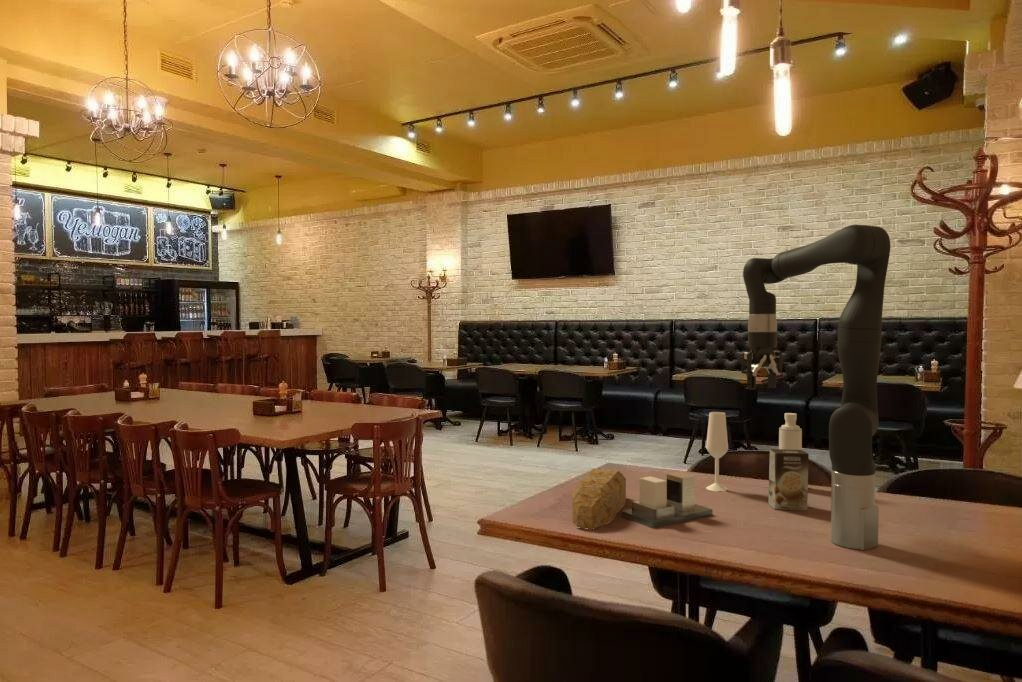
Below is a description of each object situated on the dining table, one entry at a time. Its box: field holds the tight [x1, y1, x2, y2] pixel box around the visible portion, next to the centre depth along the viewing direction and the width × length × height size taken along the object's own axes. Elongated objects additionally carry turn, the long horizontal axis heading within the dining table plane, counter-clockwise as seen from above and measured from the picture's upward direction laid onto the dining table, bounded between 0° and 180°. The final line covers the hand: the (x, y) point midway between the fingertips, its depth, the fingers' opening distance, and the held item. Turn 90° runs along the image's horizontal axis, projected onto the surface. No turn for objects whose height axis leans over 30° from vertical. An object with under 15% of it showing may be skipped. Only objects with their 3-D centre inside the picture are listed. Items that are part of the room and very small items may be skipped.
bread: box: [571, 468, 627, 530], centre depth 190 cm, size 36×11×10 cm, turn 160°
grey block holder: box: [621, 471, 713, 529], centre depth 184 cm, size 12×22×10 cm, turn 121°
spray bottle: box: [778, 412, 803, 451], centre depth 215 cm, size 7×7×25 cm
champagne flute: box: [705, 411, 729, 492], centre depth 213 cm, size 7×7×24 cm
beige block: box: [639, 475, 667, 509], centre depth 181 cm, size 5×6×9 cm
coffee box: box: [767, 448, 810, 511], centre depth 192 cm, size 9×6×16 cm
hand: (761, 388), depth 188 cm, fingers open, 8 cm apart
